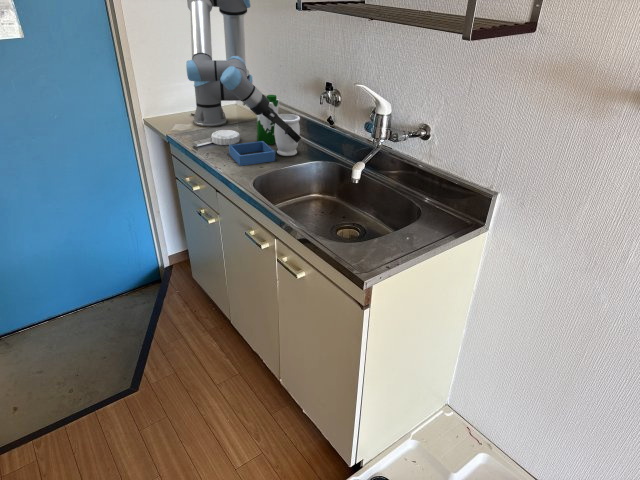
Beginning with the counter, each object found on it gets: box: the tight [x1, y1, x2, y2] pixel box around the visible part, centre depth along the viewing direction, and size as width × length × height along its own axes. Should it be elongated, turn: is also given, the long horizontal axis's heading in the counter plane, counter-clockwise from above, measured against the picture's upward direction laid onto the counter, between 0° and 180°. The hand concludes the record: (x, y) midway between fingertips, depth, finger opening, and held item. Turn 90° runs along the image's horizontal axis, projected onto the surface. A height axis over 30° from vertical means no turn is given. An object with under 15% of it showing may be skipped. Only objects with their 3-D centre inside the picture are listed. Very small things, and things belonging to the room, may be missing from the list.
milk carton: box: [256, 94, 280, 146], centre depth 203 cm, size 9×9×20 cm
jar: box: [274, 113, 301, 157], centre depth 192 cm, size 11×10×15 cm
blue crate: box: [228, 141, 276, 167], centre depth 189 cm, size 14×15×4 cm
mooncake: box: [210, 129, 241, 146], centre depth 205 cm, size 12×12×4 cm
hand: (292, 135), depth 193 cm, fingers open, 13 cm apart
